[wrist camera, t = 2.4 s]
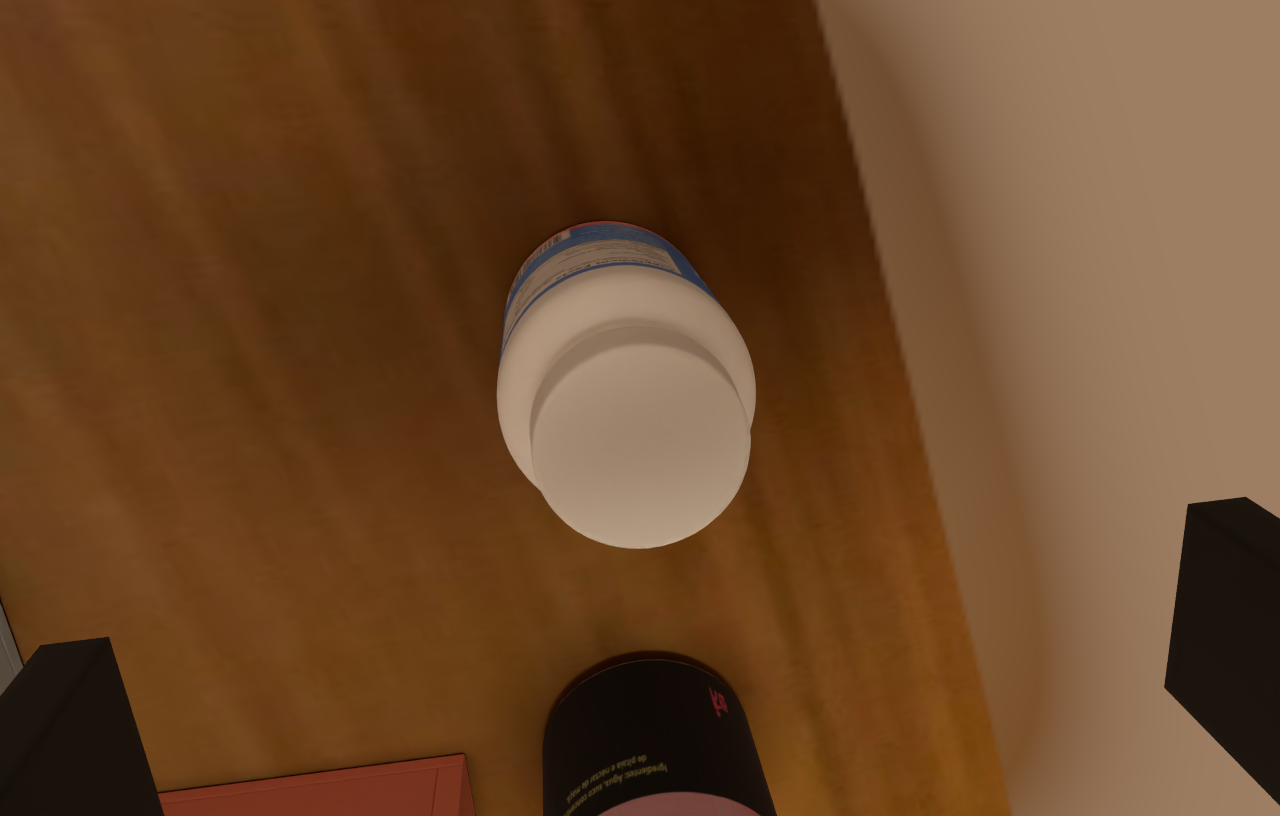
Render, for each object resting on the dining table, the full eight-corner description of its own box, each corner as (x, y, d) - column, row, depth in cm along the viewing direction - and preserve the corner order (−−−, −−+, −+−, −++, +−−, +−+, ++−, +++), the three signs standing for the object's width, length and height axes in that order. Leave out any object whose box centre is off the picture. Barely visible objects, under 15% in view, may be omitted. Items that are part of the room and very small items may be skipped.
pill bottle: (706, 402, 28) (789, 578, 19) (515, 418, 28) (506, 605, 19) (701, 206, 26) (791, 299, 17) (495, 220, 26) (475, 322, 17)
